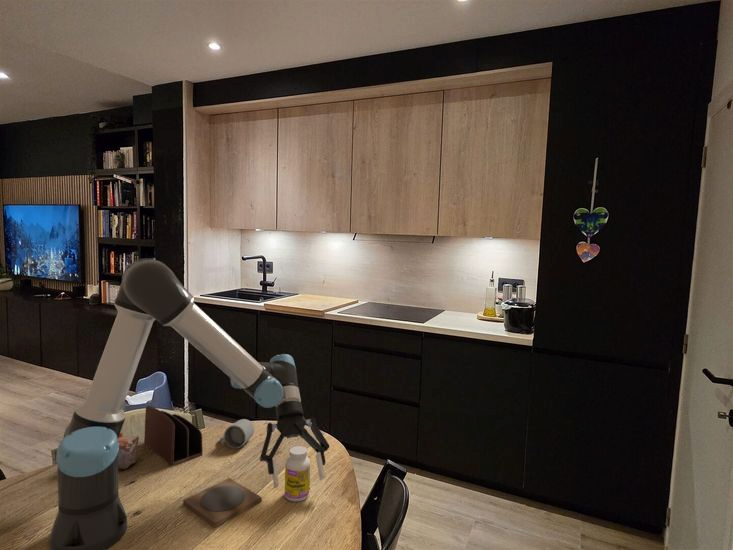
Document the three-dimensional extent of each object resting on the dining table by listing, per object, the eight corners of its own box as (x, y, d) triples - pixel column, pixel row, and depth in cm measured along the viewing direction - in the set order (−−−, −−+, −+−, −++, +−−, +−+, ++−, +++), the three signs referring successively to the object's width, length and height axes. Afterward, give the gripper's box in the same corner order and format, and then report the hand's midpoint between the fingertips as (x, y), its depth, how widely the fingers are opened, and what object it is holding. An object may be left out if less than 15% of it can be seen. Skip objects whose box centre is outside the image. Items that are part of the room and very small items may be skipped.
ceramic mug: (255, 438, 153) (255, 417, 152) (245, 450, 145) (245, 427, 144) (226, 435, 155) (226, 414, 154) (214, 446, 147) (214, 424, 146)
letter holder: (171, 467, 133) (171, 421, 132) (143, 444, 146) (143, 402, 145) (203, 455, 141) (203, 412, 139) (173, 435, 154) (173, 395, 152)
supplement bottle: (281, 502, 118) (283, 455, 117) (287, 487, 124) (288, 443, 123) (307, 503, 118) (308, 456, 117) (311, 489, 124) (312, 445, 123)
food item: (142, 459, 137) (142, 428, 136) (129, 473, 129) (128, 440, 128) (97, 457, 136) (97, 426, 136) (81, 471, 129) (80, 438, 128)
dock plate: (215, 527, 107) (215, 522, 107) (183, 504, 115) (183, 499, 115) (261, 501, 118) (261, 496, 118) (229, 481, 126) (229, 477, 126)
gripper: (324, 405, 138) (339, 478, 126) (245, 415, 129) (251, 494, 116) (330, 395, 133) (346, 470, 120) (247, 404, 124) (255, 486, 111)
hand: (299, 482), depth 118 cm, fingers open, 12 cm apart
